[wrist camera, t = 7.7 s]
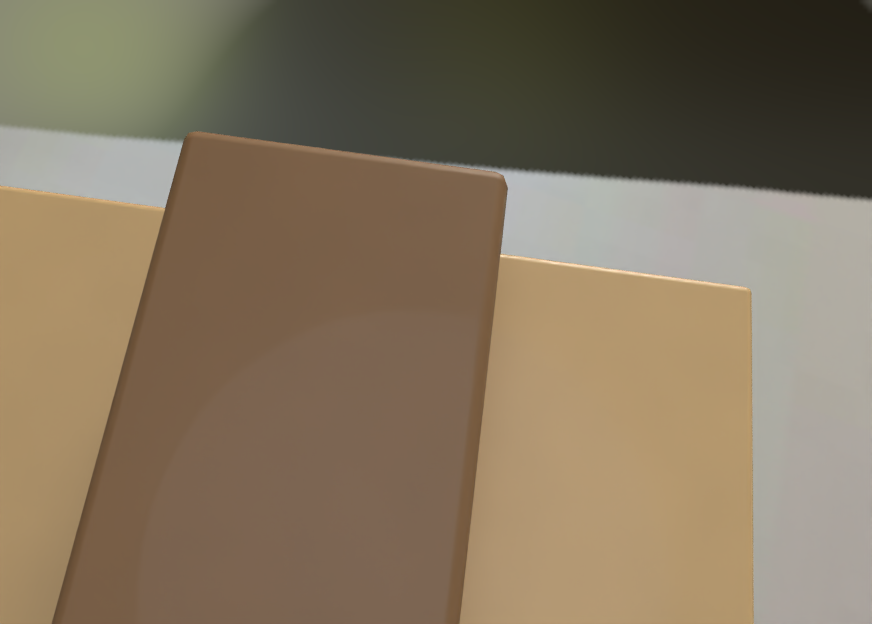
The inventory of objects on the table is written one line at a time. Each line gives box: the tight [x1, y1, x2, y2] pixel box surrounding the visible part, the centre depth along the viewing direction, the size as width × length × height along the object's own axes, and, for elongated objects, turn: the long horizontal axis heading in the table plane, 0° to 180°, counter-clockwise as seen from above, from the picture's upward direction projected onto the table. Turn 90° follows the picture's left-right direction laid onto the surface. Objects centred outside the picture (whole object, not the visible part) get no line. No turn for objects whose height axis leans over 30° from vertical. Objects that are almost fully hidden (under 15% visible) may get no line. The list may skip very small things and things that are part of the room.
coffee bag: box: [0, 131, 754, 624], centre depth 13 cm, size 6×6×20 cm
